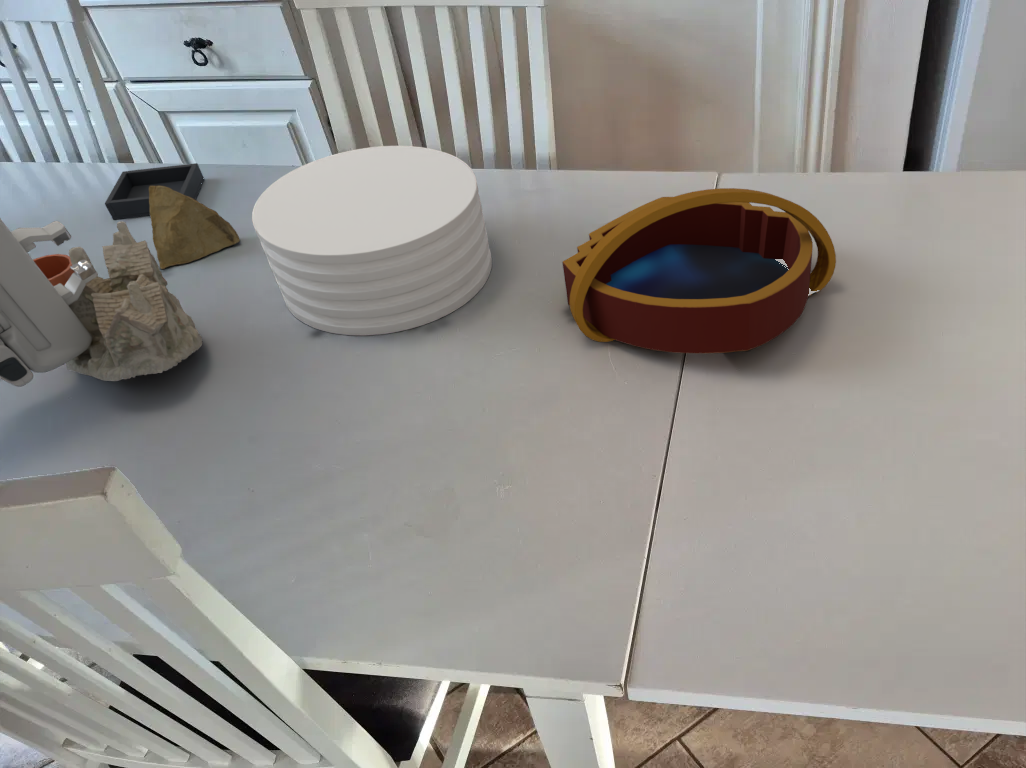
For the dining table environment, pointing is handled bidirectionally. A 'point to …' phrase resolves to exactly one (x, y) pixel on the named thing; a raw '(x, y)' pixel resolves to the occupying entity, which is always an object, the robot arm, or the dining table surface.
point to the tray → (134, 188)
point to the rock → (185, 228)
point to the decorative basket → (698, 272)
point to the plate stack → (375, 239)
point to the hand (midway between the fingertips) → (78, 248)
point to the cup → (55, 268)
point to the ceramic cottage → (130, 315)
